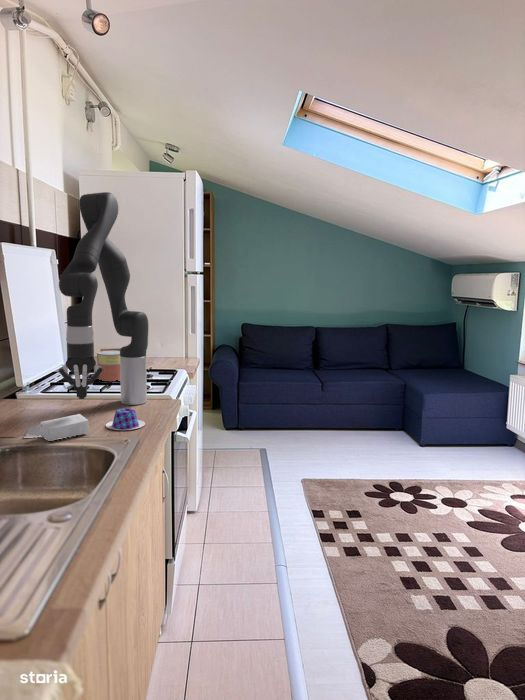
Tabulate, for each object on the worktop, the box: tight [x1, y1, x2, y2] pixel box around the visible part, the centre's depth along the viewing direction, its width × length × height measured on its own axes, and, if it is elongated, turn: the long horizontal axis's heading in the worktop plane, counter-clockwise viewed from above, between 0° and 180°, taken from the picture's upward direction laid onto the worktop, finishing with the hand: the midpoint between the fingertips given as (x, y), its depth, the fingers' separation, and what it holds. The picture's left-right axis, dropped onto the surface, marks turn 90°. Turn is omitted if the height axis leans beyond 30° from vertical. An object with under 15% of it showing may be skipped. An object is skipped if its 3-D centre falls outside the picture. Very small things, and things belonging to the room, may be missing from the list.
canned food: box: [97, 350, 120, 381], centre depth 237 cm, size 11×11×12 cm
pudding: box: [105, 407, 146, 431], centre depth 171 cm, size 12×12×5 cm
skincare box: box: [39, 413, 90, 442], centre depth 159 cm, size 6×4×12 cm
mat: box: [24, 426, 41, 436], centre depth 163 cm, size 10×14×1 cm
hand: (81, 398), depth 163 cm, fingers closed
